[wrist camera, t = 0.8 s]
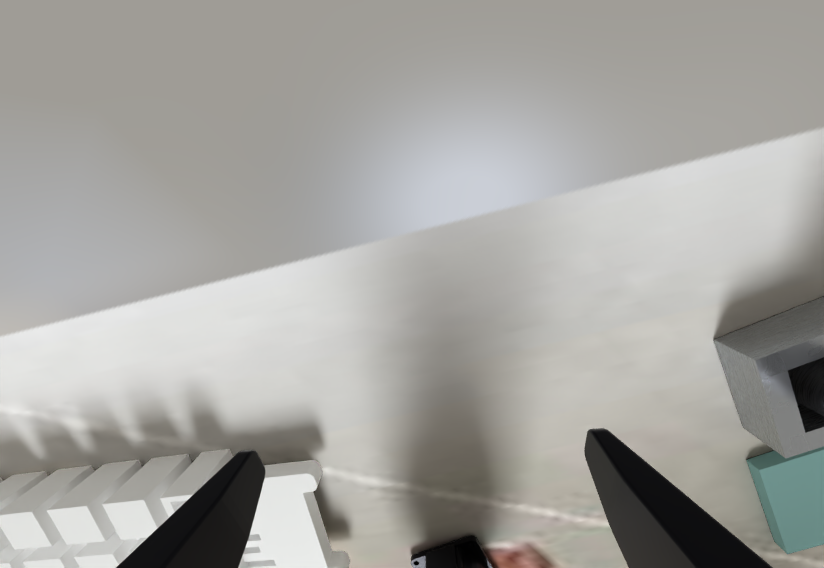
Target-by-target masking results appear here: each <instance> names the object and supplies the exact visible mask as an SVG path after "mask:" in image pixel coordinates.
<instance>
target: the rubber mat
mask: <svg viewBox="0 0 824 568" xmlns="http://www.w3.org/2000/svg"><path fill="white" fill-rule="evenodd" d="M747 463H748V466H749V469H750V472H751V475H752V478H753V480H754V483H755V486H756V489H757V492H758V495H759V498H760V501H761V504H762V507H763V510H764V513H765V516H766V518H767V521H768V524H769V527H770V530H771V533H772V536H773V539H774V542H776V543H777V544H778V545H779V546H780V547H781V548H782V549H783V550H784V551H785V552H786V553H787V554H790V553H794V552H797V551H801V550H805V549H808V548H812V547H816V546H819V545H823V544H824V446H823V447H820V448H817V449H814V450H811V451H808V452H805V453H801V454H798V455H795V456H792V457H789V458H784V457H783V456H782V455H780V454H779V453H778V452H776V451H772V452H769V453H766V454H763V455H759V456H756V457H753V458H750V459H747Z"/></svg>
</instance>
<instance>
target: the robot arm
mask: <svg viewBox="0 0 824 568" xmlns="http://www.w3.org/2000/svg"><path fill="white" fill-rule="evenodd" d="M584 451H585V458H586V461H587V464H588V467H589V469H590V472H591V475H592V478H593V481H594V483H595V486H596V489H597V492H598V495H599V497H600V500H601V503H602V506H603V509H604V511H605V514H606V517H607V520H608V522H609V525H610V527H611V529H612V532H613V534H614V536H615V539H616V541H617V543H618V545H619V547H620V549H621V551H622V554H623V556H624V558H625V560H626V562H627V564H628V567H629V568H773V567H771V566H770V565H769V564H768V563H767V562H765V561H764V560H763V559H762V558H761V557H759V556H758V555H757V554H756V553H755V552H753V551H752V550H751V549H750V548H749V547H747V546H746V545H745V544H744V543H743V542H741V541H740V540H739V539H738V538H737V537H735V536H734V535H733V534H732V533H731V532H729V531H728V530H727V529H726V528H725V527H723V526H722V525H721V524H720V523H719V522H717V521H716V520H715V519H714V518H713V517H711V516H710V515H709V514H708V513H707V512H705V511H704V510H703V509H702V508H701V507H699V506H698V505H697V504H696V503H695V502H693V501H692V500H691V499H690V498H689V497H687V496H686V495H685V494H684V493H683V492H681V491H680V490H679V489H678V488H677V487H675V486H674V485H673V484H672V483H671V482H669V481H668V480H667V479H666V478H665V477H663V476H662V475H661V474H660V473H659V472H657V471H656V470H655V469H654V468H653V467H651V466H650V465H649V464H648V463H647V462H645V461H644V460H643V459H642V458H641V457H639V456H638V455H637V454H636V453H635V452H633V451H632V450H631V449H630V448H629V447H627V446H626V445H625V444H624V443H623V442H621V441H620V440H619V439H618V438H617V437H615V436H614V435H613V434H612V433H611V432H609V431H608V430H606V429H603V428H600V429H590V430H589V431H588V432H587V437H586V443H585V450H584ZM264 479H265V467H264V465H263V463H262V461H261V459H260V457H259V455H258V453H257V452H256V451H255V450H243V451H240V452H238V453H237V454H236V455H235V456H234V457H233V458H232V459H230V460H229V461H228V462H227V463H226V464H225V465H224V466H223V467H222V468H221V469H220V470H219V471H218V472H217V473H216V474H215V475H214V476H212V477H211V478H210V479H209V480H208V481H207V482H206V483H205V484H204V485H203V486H202V487H201V488H200V489H199V490H198V491H197V492H195V493H194V494H193V495H192V496H191V497H190V498H189V499H188V500H187V501H186V502H185V503H184V504H183V505H182V506H181V507H180V508H179V509H177V510H176V511H175V512H174V513H173V514H172V515H171V516H170V517H169V518H168V519H167V520H166V521H165V522H164V523H163V524H162V525H161V526H159V527H158V528H157V529H156V530H155V531H154V532H153V533H152V534H151V535H150V536H149V537H148V538H147V539H146V540H145V541H144V542H142V543H141V544H140V545H139V546H138V547H137V548H136V549H135V550H134V551H133V552H132V553H131V554H130V555H129V556H128V557H127V558H126V559H124V560H123V561H122V562H121V563H120V564H119V565H118V566H117V567H116V568H238V567H239V564H240V561H241V559H242V556H243V553H244V550H245V547H246V544H247V541H248V538H249V535H250V531H251V528H252V524H253V520H254V517H255V513H256V509H257V505H258V501H259V498H260V494H261V490H262V486H263V483H264ZM411 565H412V566H413V568H495V567H494V566H493V564H492V562H491V561H490V559H489V557H488V556H487V554H486V553H485V551H484V549H483V548H482V546H481V544H480V543H479V541H478V539H477V538H476V537H475V536H468V537H465V538H462V539H459V540H456V541H453V542H450V543H447V544H444V545H441V546H438V547H435V548H432V549H429V550H426V551H423V552H420V553H417V554H414V555H412V557H411Z"/></svg>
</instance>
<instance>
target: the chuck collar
mask: <svg viewBox="0 0 824 568" xmlns="http://www.w3.org/2000/svg"><path fill="white" fill-rule="evenodd" d="M714 342H715V345H716V348H717V351H718V354H719V357H720V360H721V363H722V366H723V369H724V372H725V375H726V378H727V381H728V384H729V387H730V390H731V393H732V396H733V399H734V402H735V405H736V408H737V411H738V414H739V417H740V420H741V423H742V426H743V428H744V429H746V430H747V431H749V432H750V433H751V434H753V435H754V436H756V437H757V438H758V439H760V440H761V441H762V442H764V443H765V444H767V445H768V446H769V447H771V448H772V449H773V450H775V451H776V452H778V453H779V454H780V455H782V456H783V457H784V458H789V457H792V456H795V455H798V454H801V453H805V452H808V451H811V450H814V449H817V448H820V447H823V446H824V416H823V415H821V414H819V413H817V412H815V411H813V410H812V409H810V408H808V407H806V406H804V405H803V404H801V403H799V402H797V401H796V399H795V395H794V392H793V388H792V385H791V381H790V378H789V374H788V371H787V370H790V369H793V368H795V367H798V366H801V365H804V364H806V363H809V362H812V361H815V360H817V359H820V358H823V357H824V297H821V298H819V299H816V300H814V301H811V302H808V303H806V304H803V305H801V306H798V307H796V308H793V309H791V310H788V311H786V312H783V313H780V314H778V315H775V316H773V317H770V318H768V319H765V320H763V321H760V322H758V323H755V324H752V325H750V326H747V327H745V328H742V329H740V330H737V331H735V332H732V333H729V334H727V335H724V336H722V337H719V338H717V339H714Z"/></svg>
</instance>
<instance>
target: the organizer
mask: <svg viewBox="0 0 824 568" xmlns="http://www.w3.org/2000/svg"><path fill="white" fill-rule="evenodd" d="M232 458H233V456H232V453H231V450H230V449H223V450H215V451H206V452H202V453H201V454H200V455H199V456H198V457H197V458H196V459H195V460H194V461H193V462H191V459H190V457H189V454H181V455H173V456H165V457H156V458H152V459H151V460H149V461H148V462H147V463H146V464H145V465H144V466H143V467H142V465H141V463H140V461H139V460H132V461H123V462H115V463H107V464H103V465H102V466H101V467H100V468H98V469H97V470H96V471H95V472H94V470H93V468H92V466H91V465H90V466H82V467H73V468H65V469H57V470H56V471H55V472H53V473H52V474H51V475H49V476H48V475H47V473H46V471H40V472H32V473H24V474H15V475H12V476H10V477H9V478H7V479H6V480H4V481H3V479H2V478H1V476H0V568H116V567H117V566H118V565H119V564H120V563H121V562H122V561H123V560H124V559H126V558H127V557H128V556H129V555H130V554H131V553H132V552H133V551H134V550H135V549H136V548H137V547H138V546H139V545H140V544H141V543H142V542H144V541H145V540H146V539H147V538H148V537H149V536H150V535H151V534H152V533H153V532H154V531H155V530H156V529H157V528H158V527H159V526H161V525H162V524H163V523H164V522H165V521H166V520H167V519H168V518H169V517H170V516H171V515H172V514H173V513H174V512H175V511H176V510H177V509H179V508H180V507H181V506H182V505H183V504H184V503H185V502H186V501H187V500H188V499H189V498H190V497H191V496H192V495H193V494H194V493H195V492H197V491H198V490H199V489H200V488H201V487H202V486H203V485H204V484H205V483H206V482H207V481H208V480H209V479H210V478H211V477H212V476H214V475H215V474H216V473H217V472H218V471H219V470H220V469H221V468H222V467H223V466H224V465H225V464H226V463H227V462H228V461H229V460H230V459H232ZM264 467H265V479H264V483H263V486H262V490H261V494H260V498H259V501H258V505H257V509H256V513H255V517H254V520H253V524H252V528H251V531H250V535H249V538H248V541H247V544H246V547H245V550H244V553H243V556H242V559H241V561H240V564H239V567H238V568H349V564H350V559H349V556H348V554H347V553H346V552H345V551H332V549H331V545H330V542H329V539H328V536H327V533H326V530H325V527H324V524H323V521H322V518H321V514H320V511H319V508H318V505H317V502H316V499H315V496H314V493H313V491H315V490H316V489H317V486H318V484H319V481H320V479H321V476H322V473H323V471H322V468H321V465H320V463H319V462H318V461H316V460H307V461H298V462H289V463H280V464H272V465H264Z"/></svg>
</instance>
